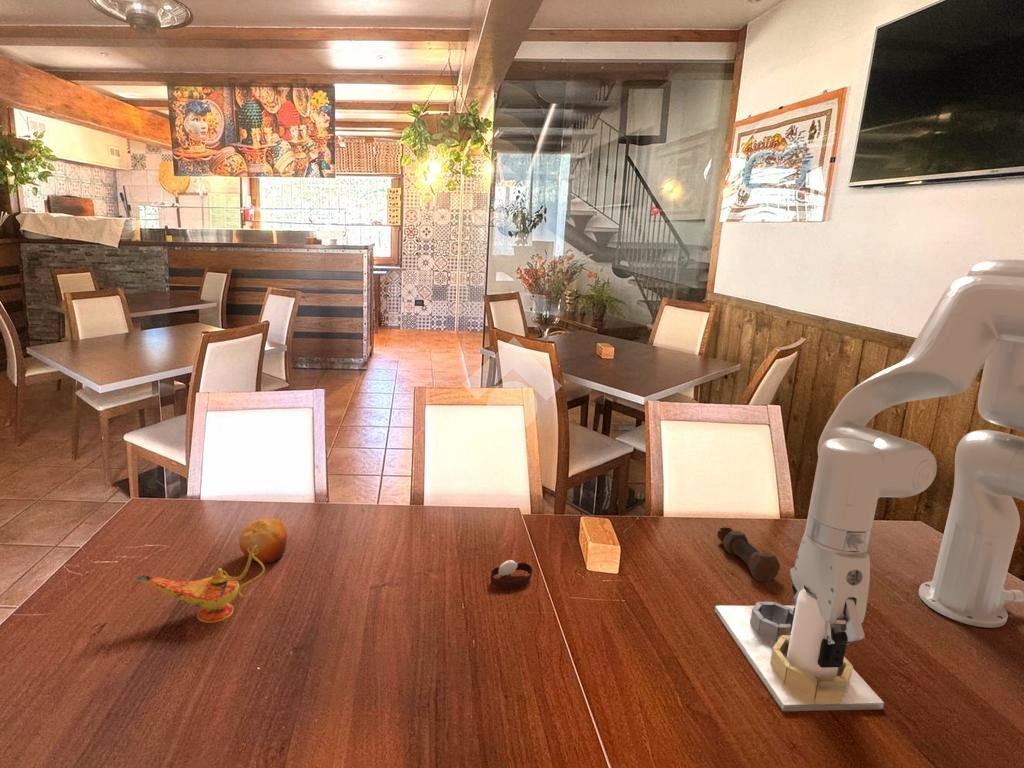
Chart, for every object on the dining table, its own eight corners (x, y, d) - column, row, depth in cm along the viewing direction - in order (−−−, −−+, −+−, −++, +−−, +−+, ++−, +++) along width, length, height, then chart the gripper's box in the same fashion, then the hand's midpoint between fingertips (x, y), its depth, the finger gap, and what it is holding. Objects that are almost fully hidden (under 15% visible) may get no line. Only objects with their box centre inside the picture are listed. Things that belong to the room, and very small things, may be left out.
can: (834, 690, 82) (850, 611, 80) (782, 671, 86) (796, 594, 83) (838, 663, 88) (854, 588, 85) (789, 646, 91) (803, 573, 88)
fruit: (306, 543, 113) (285, 517, 108) (275, 579, 109) (252, 553, 104) (277, 530, 117) (257, 504, 112) (246, 564, 113) (224, 539, 108)
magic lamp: (146, 605, 95) (140, 540, 93) (270, 596, 99) (267, 533, 97) (130, 633, 89) (122, 564, 86) (263, 621, 93) (260, 555, 90)
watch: (524, 571, 111) (525, 553, 110) (536, 584, 107) (538, 566, 106) (485, 579, 108) (486, 560, 107) (496, 593, 104) (497, 574, 103)
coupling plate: (794, 610, 103) (798, 592, 102) (882, 709, 82) (887, 686, 81) (714, 611, 102) (717, 592, 101) (782, 711, 81) (786, 688, 80)
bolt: (724, 549, 127) (768, 588, 113) (706, 539, 126) (748, 577, 111) (740, 526, 126) (786, 561, 112) (722, 515, 125) (766, 550, 111)
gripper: (909, 565, 74) (881, 693, 78) (826, 503, 91) (806, 611, 95) (850, 566, 73) (825, 694, 77) (777, 503, 90) (759, 611, 94)
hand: (814, 647), depth 86 cm, fingers closed on can, 6 cm apart
